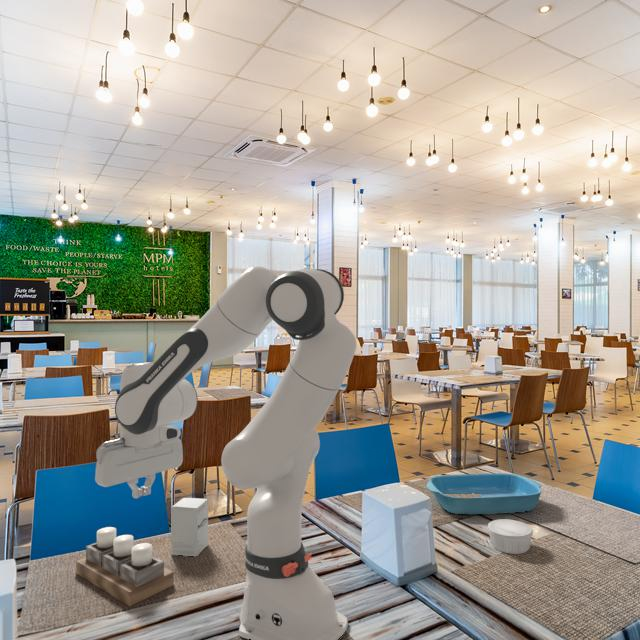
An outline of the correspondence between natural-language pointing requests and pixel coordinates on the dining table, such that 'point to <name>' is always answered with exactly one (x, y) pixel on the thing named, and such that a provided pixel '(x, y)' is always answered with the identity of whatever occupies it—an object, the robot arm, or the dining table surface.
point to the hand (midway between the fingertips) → (141, 495)
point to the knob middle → (123, 545)
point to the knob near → (141, 554)
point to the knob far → (106, 537)
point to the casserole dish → (485, 493)
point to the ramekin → (510, 536)
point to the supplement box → (189, 526)
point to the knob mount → (123, 575)
